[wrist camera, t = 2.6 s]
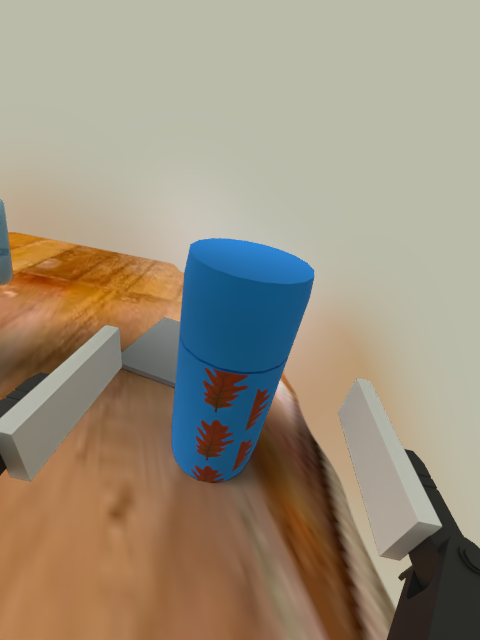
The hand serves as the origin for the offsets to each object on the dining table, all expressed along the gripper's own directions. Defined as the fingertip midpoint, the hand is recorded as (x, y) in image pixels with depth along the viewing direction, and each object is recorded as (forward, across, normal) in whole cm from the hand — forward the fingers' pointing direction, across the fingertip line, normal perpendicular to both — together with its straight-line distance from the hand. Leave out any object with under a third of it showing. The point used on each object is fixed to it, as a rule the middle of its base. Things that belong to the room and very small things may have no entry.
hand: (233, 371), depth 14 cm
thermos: (+10, 0, -22) cm, 24 cm away
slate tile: (+26, -10, -21) cm, 35 cm away
